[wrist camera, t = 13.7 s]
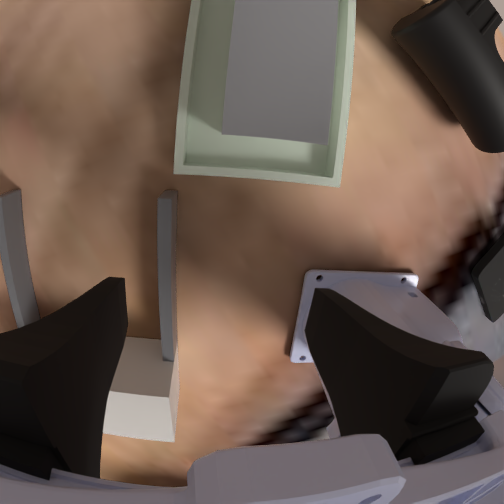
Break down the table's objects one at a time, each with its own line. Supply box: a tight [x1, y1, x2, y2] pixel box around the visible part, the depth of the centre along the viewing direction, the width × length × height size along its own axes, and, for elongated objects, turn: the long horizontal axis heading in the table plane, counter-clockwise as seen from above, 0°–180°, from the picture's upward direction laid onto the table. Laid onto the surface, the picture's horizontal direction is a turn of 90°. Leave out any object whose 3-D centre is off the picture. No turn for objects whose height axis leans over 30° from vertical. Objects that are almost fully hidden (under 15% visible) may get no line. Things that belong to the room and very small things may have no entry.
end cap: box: [391, 0, 504, 153], centre depth 14 cm, size 10×7×7 cm
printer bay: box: [0, 190, 180, 442], centre depth 19 cm, size 13×16×6 cm
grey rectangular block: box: [221, 0, 338, 145], centre depth 14 cm, size 5×10×6 cm, turn 175°
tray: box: [173, 0, 356, 188], centre depth 16 cm, size 10×14×2 cm
